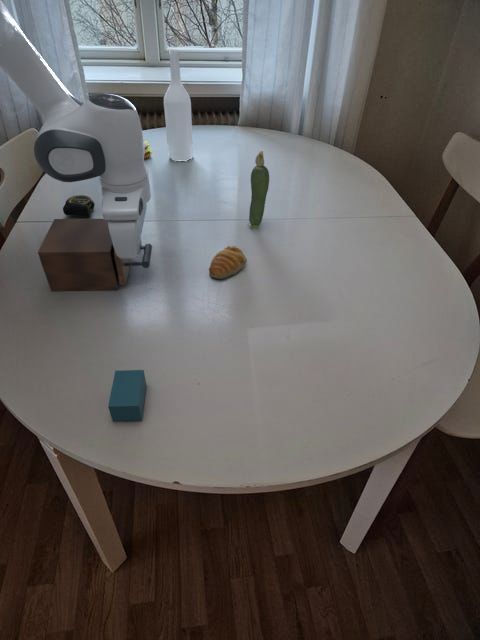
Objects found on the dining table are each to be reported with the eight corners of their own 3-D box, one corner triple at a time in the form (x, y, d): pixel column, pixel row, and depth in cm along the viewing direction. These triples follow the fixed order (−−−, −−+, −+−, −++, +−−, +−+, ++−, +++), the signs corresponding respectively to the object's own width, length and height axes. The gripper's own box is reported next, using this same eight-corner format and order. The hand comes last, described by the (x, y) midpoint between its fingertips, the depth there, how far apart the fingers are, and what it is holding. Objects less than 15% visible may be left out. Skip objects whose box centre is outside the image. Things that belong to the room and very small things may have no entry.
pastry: (227, 285, 92) (227, 270, 89) (201, 275, 94) (200, 261, 91) (248, 263, 98) (249, 249, 95) (223, 254, 100) (223, 240, 97)
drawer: (154, 253, 98) (151, 223, 93) (150, 284, 90) (145, 253, 84) (76, 254, 97) (68, 223, 92) (64, 285, 89) (54, 254, 83)
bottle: (172, 163, 136) (162, 54, 115) (165, 153, 141) (156, 48, 121) (196, 160, 138) (191, 52, 118) (189, 151, 144) (183, 46, 123)
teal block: (142, 421, 66) (138, 405, 64) (112, 422, 66) (107, 406, 63) (146, 385, 72) (143, 369, 69) (119, 385, 71) (115, 370, 69)
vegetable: (250, 222, 111) (254, 144, 97) (266, 224, 110) (272, 146, 97) (246, 231, 108) (250, 151, 94) (263, 233, 107) (269, 153, 93)
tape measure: (63, 219, 110) (60, 205, 107) (74, 206, 115) (70, 193, 112) (90, 221, 109) (86, 207, 107) (99, 208, 114) (96, 194, 112)
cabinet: (126, 255, 99) (119, 218, 92) (117, 290, 89) (109, 251, 83) (65, 256, 98) (54, 218, 91) (51, 291, 89) (37, 252, 82)
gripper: (117, 166, 88) (128, 225, 98) (99, 217, 74) (114, 280, 83) (148, 166, 89) (156, 225, 98) (137, 216, 74) (147, 280, 83)
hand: (136, 251), depth 90 cm, fingers closed
